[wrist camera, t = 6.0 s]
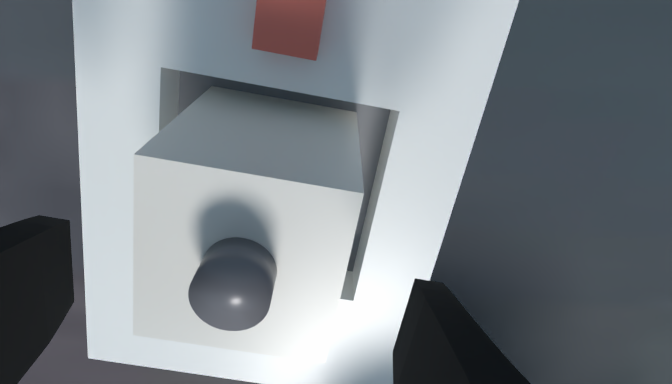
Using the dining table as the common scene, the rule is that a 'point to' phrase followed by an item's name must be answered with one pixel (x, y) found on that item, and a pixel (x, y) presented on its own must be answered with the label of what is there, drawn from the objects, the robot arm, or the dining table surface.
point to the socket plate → (297, 85)
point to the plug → (246, 224)
